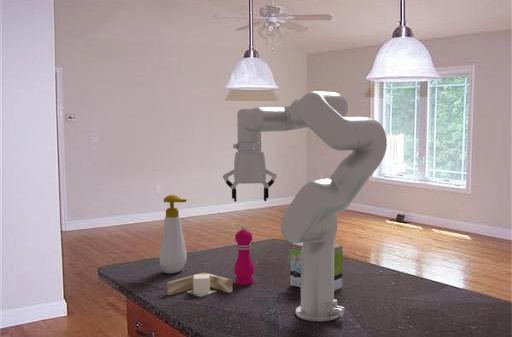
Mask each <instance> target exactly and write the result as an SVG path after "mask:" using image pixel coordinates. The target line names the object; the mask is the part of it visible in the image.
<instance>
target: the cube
mask: <svg viewBox="0 0 512 337" xmlns="http://www.w3.org/2000/svg"><path fill="white" fill-rule="evenodd" d="M210 274H211V273H209V274H199V273H196V274H193V275H194V278H193V289H192V290H194V294H209V291H210V289H211V287H210ZM209 295H210V294H209Z"/></svg>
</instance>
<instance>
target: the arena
mask: <svg viewBox="0 0 512 337" xmlns="http://www.w3.org/2000/svg"><path fill="white" fill-rule="evenodd" d="M198 274H210V291H209V294H194V289H193V278H194V275H195V274H193V275H189V276H185V277H183V278H178V279H174V280H171V281H168V282H166V294H167V296H173V295H177V294H179V293H183V292H186V293H187V294H189V295H190V294H191V295H193V296H197V297H199V298H202V297H205V296H208V295H212V294H215V293H217V292H218V291H217V290H218V289H219V291H222V292H226V293H233V279H231V278H228V277H223V276H219V275H216V274H212V273H207V272H200V273H198ZM211 287H212V288H211ZM214 292H215V293H214ZM211 293H212V294H211Z"/></svg>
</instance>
